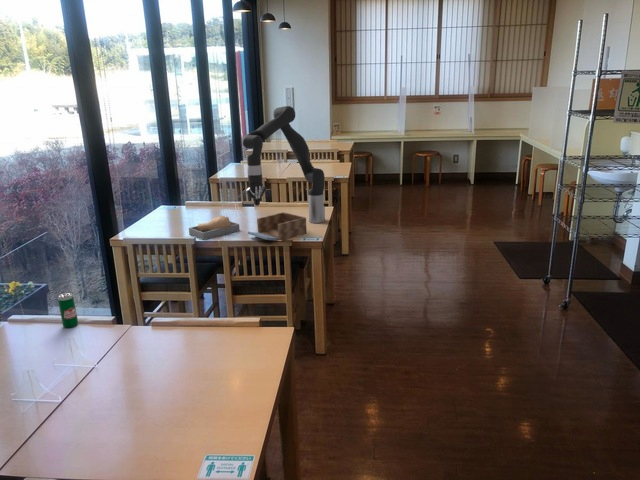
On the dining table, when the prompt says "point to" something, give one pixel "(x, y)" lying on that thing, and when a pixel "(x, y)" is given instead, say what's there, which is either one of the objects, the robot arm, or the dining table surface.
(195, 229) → the squash crate
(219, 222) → the squash
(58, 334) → the dining table surface
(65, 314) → the soda can
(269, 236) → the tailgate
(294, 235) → the box
